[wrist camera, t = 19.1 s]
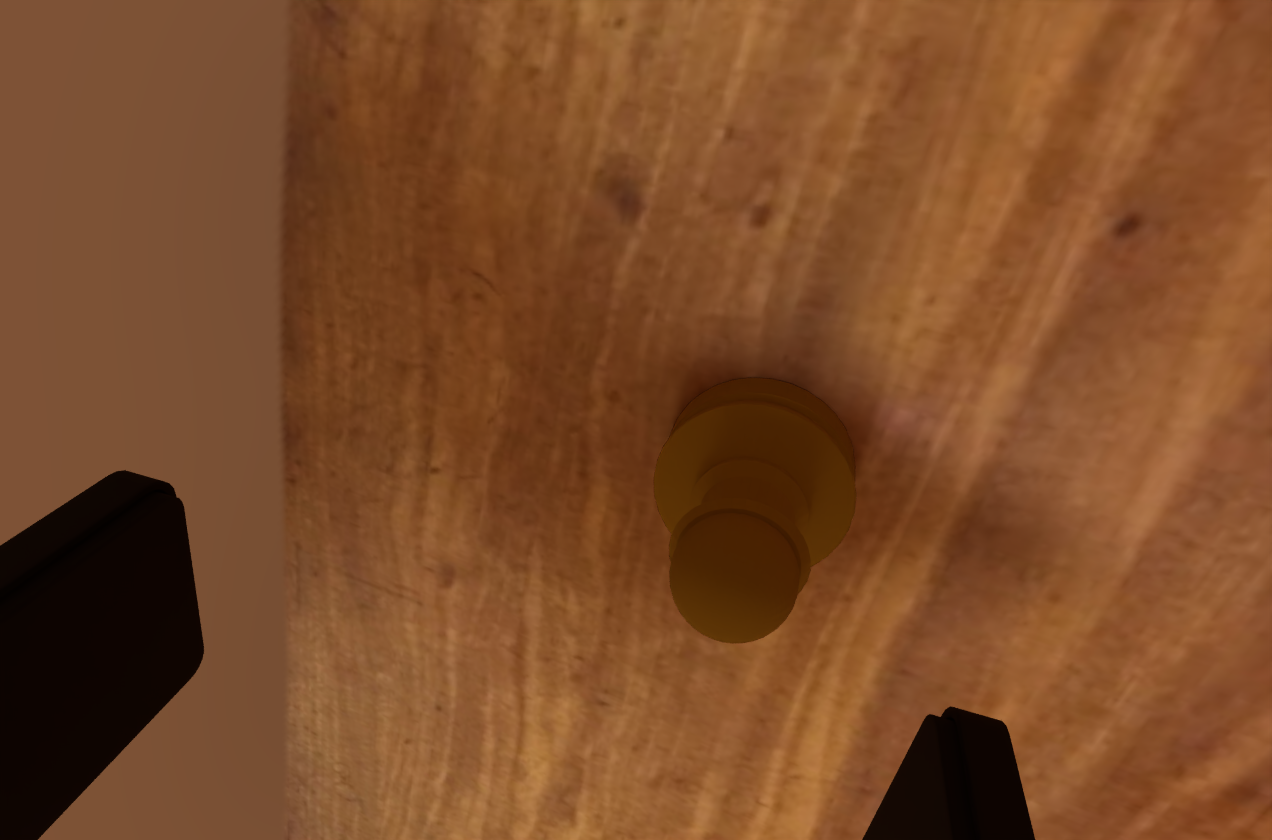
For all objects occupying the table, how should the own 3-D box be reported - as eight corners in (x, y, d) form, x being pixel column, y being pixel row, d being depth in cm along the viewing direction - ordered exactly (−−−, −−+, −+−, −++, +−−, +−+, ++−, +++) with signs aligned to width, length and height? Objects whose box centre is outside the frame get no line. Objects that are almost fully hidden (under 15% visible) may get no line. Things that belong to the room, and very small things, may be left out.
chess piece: (853, 372, 15) (854, 510, 11) (858, 543, 17) (859, 724, 12) (655, 380, 16) (583, 508, 12) (677, 539, 18) (621, 704, 14)
